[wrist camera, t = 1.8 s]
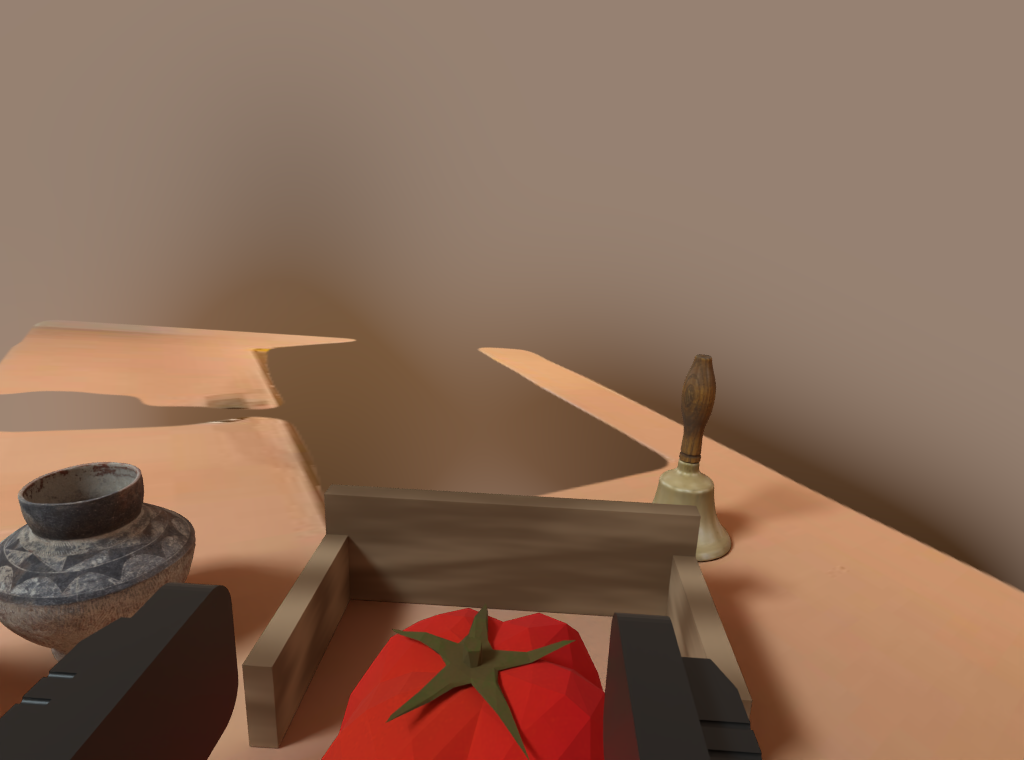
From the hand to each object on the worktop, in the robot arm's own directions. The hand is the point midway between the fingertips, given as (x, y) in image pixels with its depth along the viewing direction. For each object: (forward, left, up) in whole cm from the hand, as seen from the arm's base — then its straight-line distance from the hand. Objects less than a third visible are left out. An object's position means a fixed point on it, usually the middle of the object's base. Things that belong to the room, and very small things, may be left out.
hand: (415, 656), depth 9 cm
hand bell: (-39, -25, -22) cm, 52 cm away
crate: (-17, -20, -22) cm, 34 cm away
